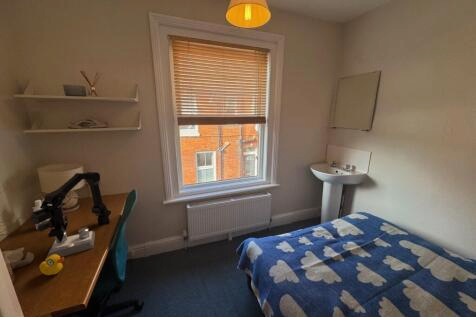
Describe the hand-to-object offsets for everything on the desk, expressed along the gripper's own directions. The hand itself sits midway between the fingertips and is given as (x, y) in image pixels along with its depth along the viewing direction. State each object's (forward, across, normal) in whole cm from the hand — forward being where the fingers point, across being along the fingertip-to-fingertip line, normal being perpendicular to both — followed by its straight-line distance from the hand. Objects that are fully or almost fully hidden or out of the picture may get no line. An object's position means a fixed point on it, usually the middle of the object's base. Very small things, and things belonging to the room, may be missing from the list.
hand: (61, 239), depth 116 cm
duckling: (+6, +23, 0) cm, 24 cm away
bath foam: (+6, -35, -16) cm, 39 cm away
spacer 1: (+1, 0, 0) cm, 1 cm away
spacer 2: (+2, 0, +10) cm, 11 cm away
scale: (+6, +2, +5) cm, 8 cm away
